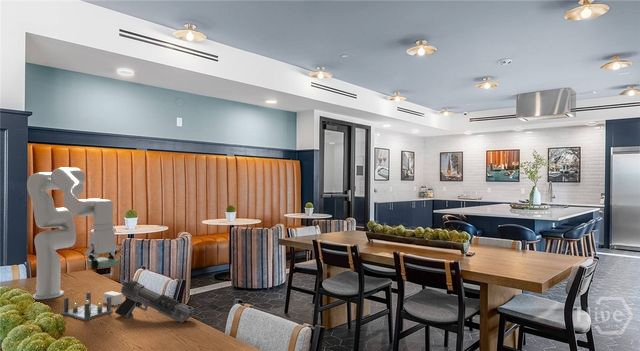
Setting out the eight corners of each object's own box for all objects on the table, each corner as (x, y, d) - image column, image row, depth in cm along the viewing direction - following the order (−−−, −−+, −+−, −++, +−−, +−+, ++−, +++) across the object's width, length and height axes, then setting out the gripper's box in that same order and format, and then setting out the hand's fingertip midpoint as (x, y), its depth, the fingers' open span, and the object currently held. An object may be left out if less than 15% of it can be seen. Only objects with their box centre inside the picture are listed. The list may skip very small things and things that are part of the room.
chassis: (62, 313, 168) (62, 298, 168) (90, 305, 178) (90, 291, 178) (84, 320, 160) (84, 304, 160) (112, 311, 171) (112, 296, 171)
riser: (103, 302, 183) (103, 293, 183) (111, 300, 186) (111, 291, 186) (114, 305, 179) (114, 295, 179) (122, 303, 182) (122, 293, 182)
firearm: (179, 344, 158) (191, 309, 157) (110, 311, 164) (121, 277, 163) (184, 340, 162) (196, 306, 161) (117, 308, 168) (128, 275, 167)
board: (86, 264, 176) (86, 260, 176) (101, 261, 183) (101, 257, 183) (104, 267, 171) (104, 262, 171) (119, 264, 177) (119, 259, 177)
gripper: (115, 225, 186) (114, 263, 186) (78, 229, 171) (78, 270, 171) (126, 226, 183) (125, 264, 183) (89, 230, 167) (89, 272, 167)
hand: (102, 267), depth 177 cm, fingers closed on board, 7 cm apart
